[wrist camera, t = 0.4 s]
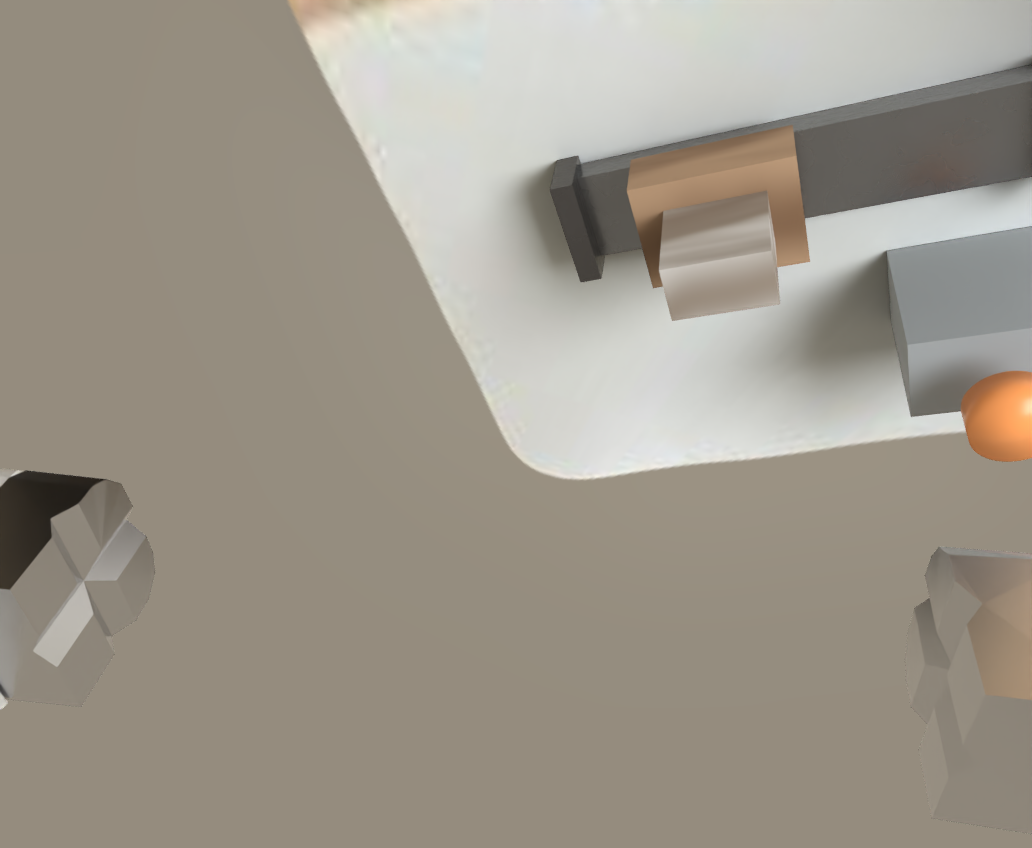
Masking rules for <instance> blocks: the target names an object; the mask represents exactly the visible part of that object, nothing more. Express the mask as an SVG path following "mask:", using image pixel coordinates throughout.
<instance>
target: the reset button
mask: <svg viewBox="0 0 1032 848" xmlns="http://www.w3.org/2000/svg"><path fill="white" fill-rule="evenodd" d="M961 413H962V417H963V421H964V425H965V428H966V432H967V436H968V439H969V443H970V445H971V447H972V448H973V450H974V451H975V452H976V453H978V454H979V455H981V456H983V457H985V458H988V459H991V460H995V461H1004V462H1011V461H1021V460H1025V459H1029V458H1032V372H1027V371H1006V372H1001V373H997V374H994V375H991V376H988V377H986V378H984V379H982V380H980V381H979V382H977V383H976V384H974V385H973V386H972V387H971V388H970V389H969V390H968V391H967V392H966V394H965V395H964V397H963V399H962V402H961Z"/></svg>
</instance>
